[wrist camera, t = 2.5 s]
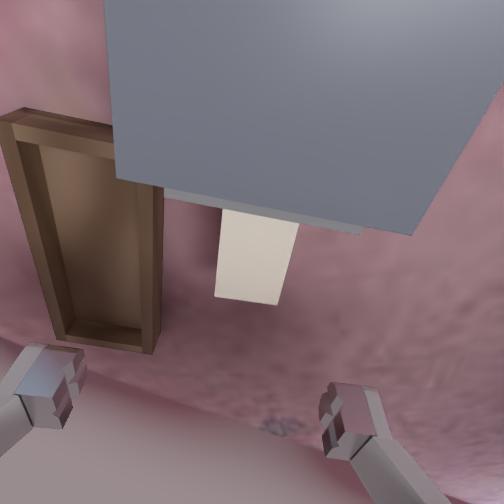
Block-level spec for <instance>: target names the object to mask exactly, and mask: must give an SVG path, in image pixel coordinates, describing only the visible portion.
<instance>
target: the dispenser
mask: <svg viewBox="0 0 504 504" xmlns="http://www.w3.org/2000/svg"><path fill="white" fill-rule="evenodd" d="M104 13H105V27H106V41H107V55H108V69H109V83H110V97H111V111H112V125H113V139H114V153H115V167H116V178H118V179H123V180H128V181H133V182H138V183H144V184H149V185H154V186H159V187H164V197H165V198H170V199H175V200H180V201H185V202H191V203H196V204H201V205H206V206H211V207H216V208H222V209H227V210H232V211H237V212H242V213H248V214H253V215H258V216H263V217H268V218H273V219H279V220H284V221H289V222H294V223H299V224H304V225H310V226H315V227H320V228H325V229H330V230H336V231H341V232H346V233H351V234H356V235H360V233H361V231H362V229H363V227H369V228H374V229H379V230H384V231H389V232H394V233H400V234H405V235H410V236H412V234H413V232H414V231H415V229H416V227H417V226H418V224H419V222H420V221H421V219H422V217H423V216H424V214H425V212H426V211H427V209H428V207H429V206H430V204H431V202H432V201H433V199H434V197H435V196H436V194H437V192H438V191H439V189H440V187H441V185H442V184H443V182H444V180H445V179H446V177H447V175H448V174H449V172H450V170H451V169H452V167H453V165H454V164H455V162H456V160H457V159H458V157H459V155H460V154H461V152H462V150H463V149H464V147H465V145H466V144H467V142H468V140H469V139H470V137H471V135H472V134H473V132H474V130H475V129H476V127H477V125H478V124H479V122H480V120H481V119H482V117H483V115H484V114H485V112H486V110H487V109H488V107H489V105H490V104H491V102H492V100H493V99H494V97H495V95H496V94H497V92H498V90H499V89H500V87H501V85H502V84H503V82H504V0H104Z"/></svg>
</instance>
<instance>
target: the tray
mask: <svg viewBox="0 0 504 504" xmlns="http://www.w3.org/2000/svg"><path fill="white" fill-rule="evenodd" d="M0 145H1V148H2V152H3V155H4V159H5V162H6V165H7V169H8V172H9V176H10V179H11V183H12V186H13V190H14V193H15V197H16V200H17V204H18V207H19V211H20V214H21V218H22V221H23V225H24V228H25V232H26V235H27V238H28V242H29V245H30V249H31V252H32V256H33V259H34V263H35V266H36V270H37V273H38V277H39V280H40V284H41V287H42V291H43V294H44V298H45V301H46V305H47V308H48V311H49V315H50V318H51V322H52V325H53V329H54V332H55V336H56V339H57V340H61V341H68V342H74V343H80V344H87V345H93V346H99V347H106V348H112V349H119V350H125V351H131V352H138V353H144V354H150V355H153V352H154V349H155V346H156V343H157V340H158V337H159V335H160V332H161V297H162V260H163V223H164V187H159V186H154V185H149V184H144V183H138V182H133V181H128V180H123V179H118V178H116V167H115V153H114V139H113V126H112V125H107V124H102V123H98V122H93V121H88V120H83V119H78V118H73V117H69V116H64V115H59V114H54V113H49V112H44V111H40V110H35V109H30V108H25V107H24V108H21V109H18V110H16V111H13V112H11V113H8V114H6V115H3V116H0Z"/></svg>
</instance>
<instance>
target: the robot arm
mask: <svg viewBox="0 0 504 504" xmlns="http://www.w3.org/2000/svg"><path fill="white" fill-rule="evenodd" d="M84 356H85V355H84V351H83V349H77V348H69V347H62V346H55V345H49V344H42V343H34V342H31V343H29V344H28V345H27V346H26V347H25V348H24V349H23V350H22V352H21V353H20V355H19V356H18V357H17V359H16V360H15V362H14V363H13V365H12V366H11V367H10V369H9V370H8V372H7V373H6V374H5V376H4V377H3V379H2V380H1V381H0V457H1V456H2V455H3V454H4V453H5V452H7V451H8V450H9V449H10V448H11V447H12V446H13V445H15V444H16V443H17V442H18V441H19V440H20V439H22V438H23V437H24V436H25V435H26V434H27V433H28V432H30V431H31V430H32V427H41V428H53V429H63V427H64V425H65V423H66V421H67V419H68V417H69V414H70V412H71V411H72V408H73V406H72V401H71V400H72V399H73V398H74V397H76V396H77V395H78V394H80V392H81V389H82V387H83V385H84V382H85V379H86V375H87V366H86V363H84V362H83V361H82V360H83V358H84ZM327 390H328V392H326V393H324V394H323V395H322V397H321V399H320V402H319V420H320V423H321V424H322V426H323V427H324V429H325V431H324V433H323V435H322V440H323V447H324V453H325V457H326V458H332V459H340V460H347V461H350V464H351V466H352V467H353V469H354V471H355V472H356V474H357V476H358V477H359V479H360V480H361V482H362V484H363V485H364V487H365V489H366V490H367V492H368V494H369V495H370V497H371V498H372V500H373V502H374V503H375V504H452V503H451V502H450V501H449V500H448V498H447V497H446V496H445V495H444V494H443V493H442V491H441V490H440V489H439V488H438V487H437V485H436V484H435V483H434V482H433V481H432V480H431V478H430V477H429V476H428V475H427V474H426V473H425V471H424V470H423V469H422V468H421V467H420V466H419V464H418V463H417V462H416V461H415V460H414V458H413V457H412V456H411V455H410V454H409V453H408V451H407V450H406V449H405V448H404V447H403V446H402V444H401V443H400V442H399V441H398V440H397V439H393V437H392V434H391V431H390V428H389V425H388V422H387V419H386V416H385V413H384V410H383V406H382V403H381V400H380V397H379V394H378V391H377V390H376V389H375V388H374V387H369V386H360V385H355V384H346V383H337V382H331V383H329V385H328V387H327Z"/></svg>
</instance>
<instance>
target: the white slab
mask: <svg viewBox="0 0 504 504" xmlns="http://www.w3.org/2000/svg"><path fill="white" fill-rule="evenodd" d="M298 227H299V223H294V222H289V221H284V220H279V219H273V218H268V217H263V216H258V215H253V214H248V213H242V212H237V211H232V210H227V209H223V211H222V222H221V232H220V242H219V253H218V263H217V273H216V284H215V294H214V297H221V298H228V299H235V300H242V301H249V302H256V303H264V304H271V305H277V304H278V301H279V297H280V293H281V290H282V286H283V282H284V279H285V275H286V271H287V267H288V264H289V260H290V256H291V253H292V249H293V245H294V242H295V238H296V234H297V231H298Z"/></svg>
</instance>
